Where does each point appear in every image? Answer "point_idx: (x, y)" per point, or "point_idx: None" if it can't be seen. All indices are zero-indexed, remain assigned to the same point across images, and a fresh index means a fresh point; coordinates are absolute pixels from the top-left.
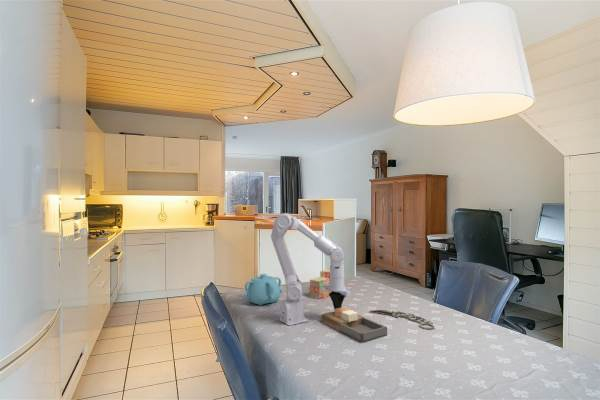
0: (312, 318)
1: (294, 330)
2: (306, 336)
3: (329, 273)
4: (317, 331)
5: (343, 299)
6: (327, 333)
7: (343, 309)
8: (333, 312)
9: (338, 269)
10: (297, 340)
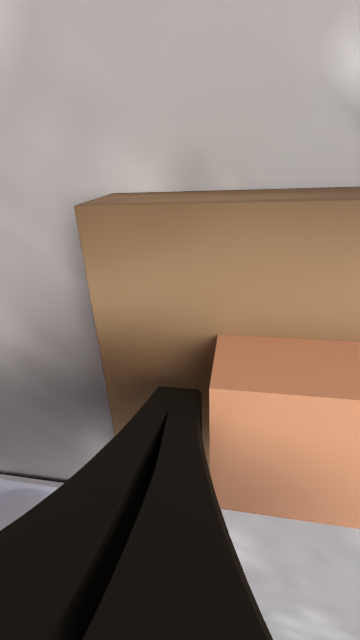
0: (53, 439)
1: None
2: (300, 600)
3: None
4: (281, 541)
5: (234, 549)
6: (355, 529)
7: (314, 460)
8: (130, 395)
9: None
10: (311, 636)
